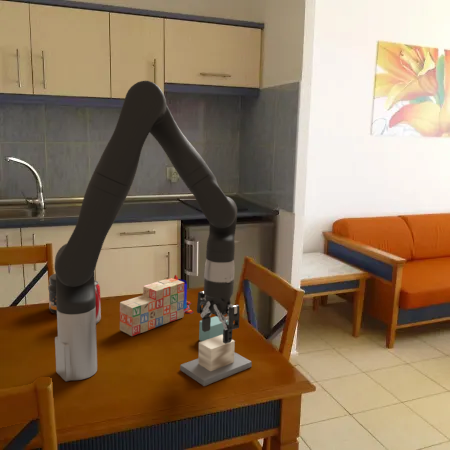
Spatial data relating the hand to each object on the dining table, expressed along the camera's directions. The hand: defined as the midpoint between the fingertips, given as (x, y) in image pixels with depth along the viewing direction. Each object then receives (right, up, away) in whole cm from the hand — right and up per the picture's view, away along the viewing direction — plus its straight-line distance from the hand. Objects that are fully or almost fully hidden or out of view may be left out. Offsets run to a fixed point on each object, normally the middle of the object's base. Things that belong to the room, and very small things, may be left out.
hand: (216, 336), depth 123 cm
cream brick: (0, -7, +2) cm, 8 cm away
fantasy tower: (-15, -1, +43) cm, 46 cm away
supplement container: (-52, 0, +39) cm, 65 cm away
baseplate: (0, -9, +2) cm, 9 cm away
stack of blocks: (-21, -3, +29) cm, 36 cm away
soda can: (-41, -2, +29) cm, 51 cm away
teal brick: (-1, -5, +20) cm, 20 cm away
